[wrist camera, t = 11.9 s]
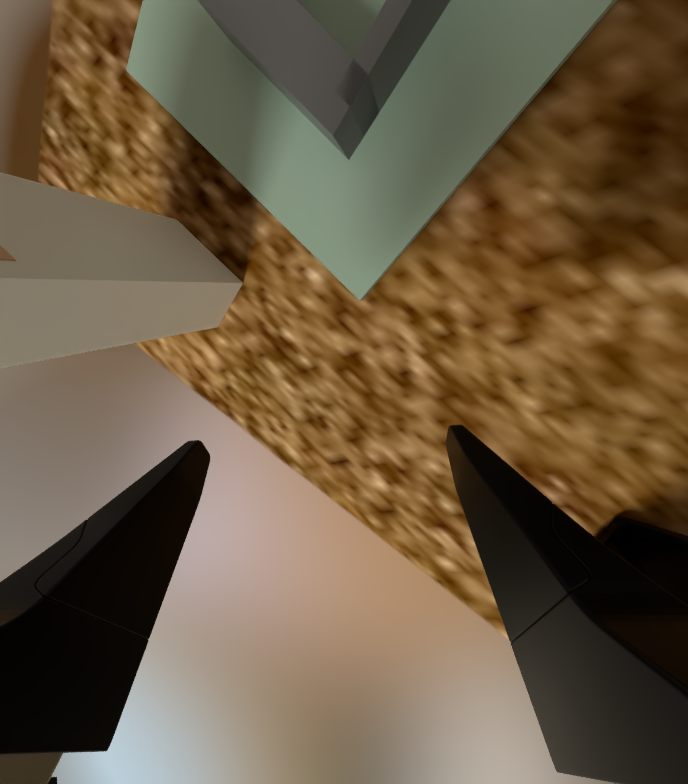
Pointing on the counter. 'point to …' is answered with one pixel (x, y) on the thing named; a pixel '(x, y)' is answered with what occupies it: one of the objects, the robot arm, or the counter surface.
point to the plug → (98, 275)
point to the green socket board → (353, 103)
